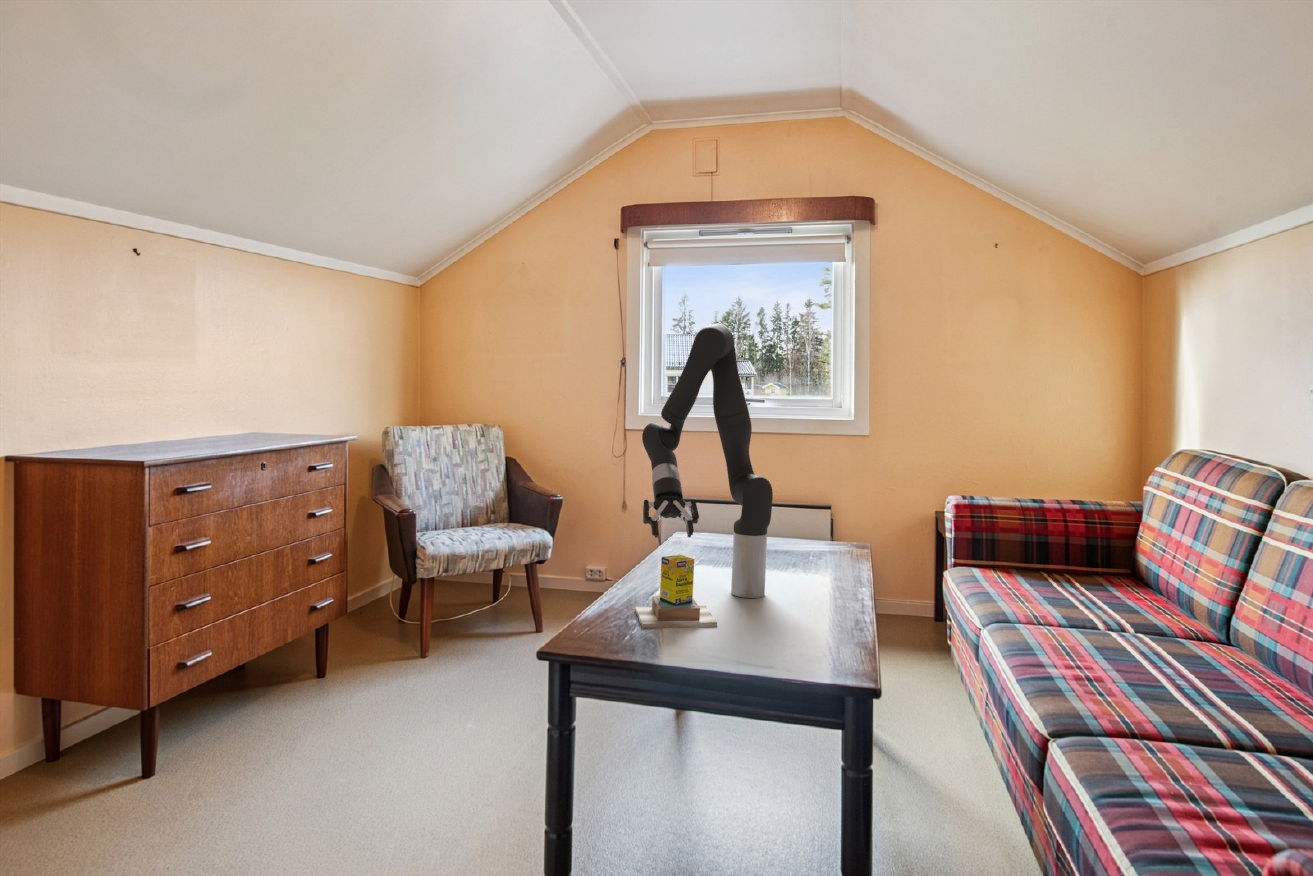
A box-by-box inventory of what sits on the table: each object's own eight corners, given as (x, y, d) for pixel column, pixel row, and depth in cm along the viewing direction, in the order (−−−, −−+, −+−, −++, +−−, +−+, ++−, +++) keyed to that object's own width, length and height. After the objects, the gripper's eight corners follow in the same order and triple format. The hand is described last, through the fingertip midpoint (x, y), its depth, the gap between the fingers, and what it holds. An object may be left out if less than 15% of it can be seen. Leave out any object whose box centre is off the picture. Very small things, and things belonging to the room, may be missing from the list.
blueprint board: (635, 610, 179) (635, 594, 179) (705, 609, 182) (705, 593, 181) (642, 628, 166) (642, 610, 166) (717, 626, 169) (717, 609, 168)
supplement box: (674, 606, 169) (676, 561, 169) (659, 600, 174) (660, 556, 173) (693, 602, 173) (695, 558, 172) (677, 596, 178) (679, 553, 177)
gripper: (641, 475, 186) (647, 528, 175) (695, 476, 188) (703, 527, 177) (638, 492, 191) (643, 544, 181) (690, 492, 193) (698, 543, 183)
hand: (673, 535), depth 179 cm, fingers open, 8 cm apart
